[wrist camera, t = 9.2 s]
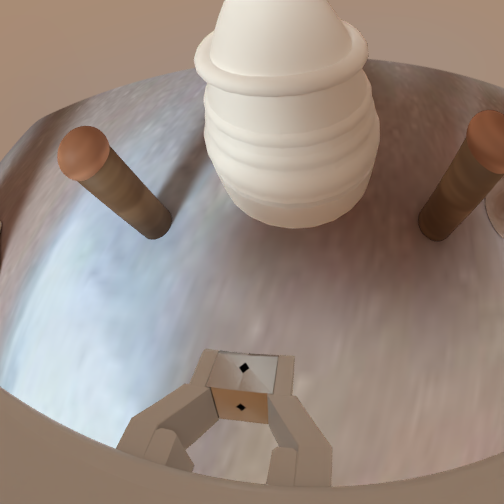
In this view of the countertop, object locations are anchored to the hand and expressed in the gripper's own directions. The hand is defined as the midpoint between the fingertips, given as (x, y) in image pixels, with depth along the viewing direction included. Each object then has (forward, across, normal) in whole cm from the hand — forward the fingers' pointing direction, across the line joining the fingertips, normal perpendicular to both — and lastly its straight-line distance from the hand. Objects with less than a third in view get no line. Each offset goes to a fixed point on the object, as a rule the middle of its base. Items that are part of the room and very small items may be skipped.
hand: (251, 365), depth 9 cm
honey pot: (+19, -1, -4) cm, 19 cm away
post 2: (+14, -12, 0) cm, 19 cm away
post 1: (+14, +11, 0) cm, 18 cm away
